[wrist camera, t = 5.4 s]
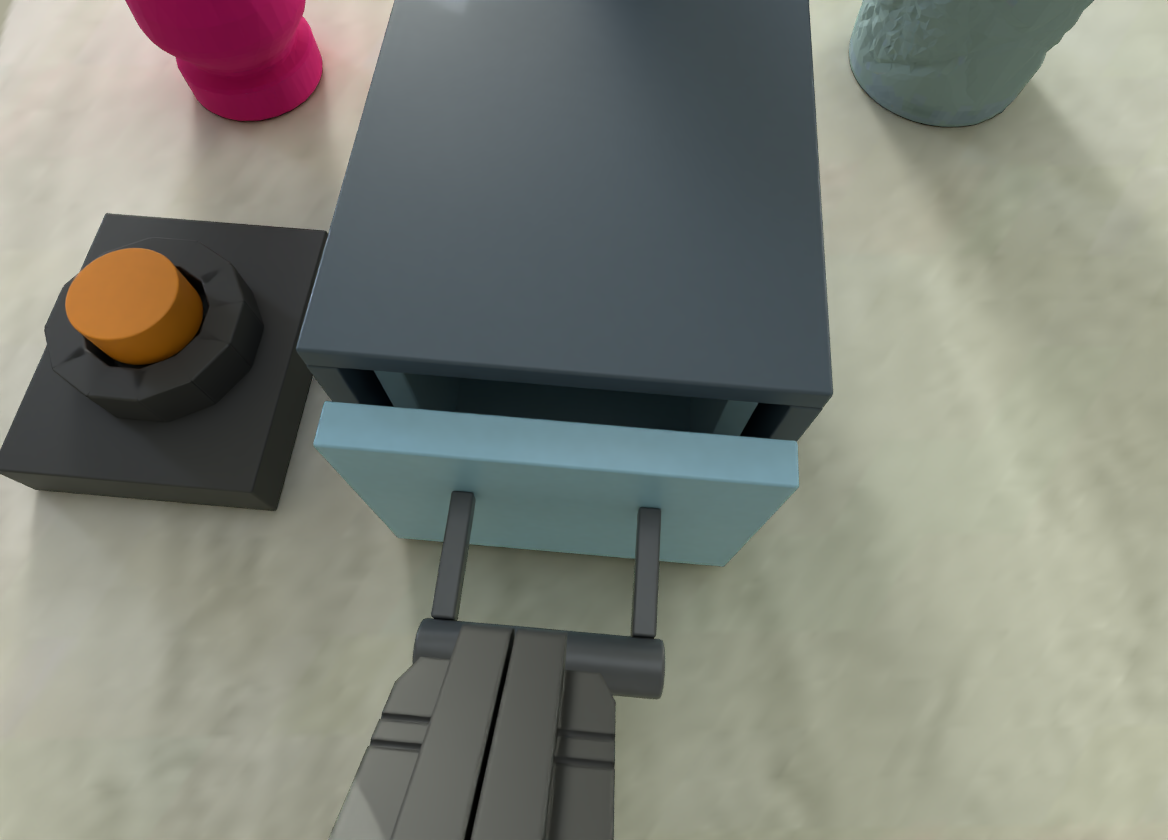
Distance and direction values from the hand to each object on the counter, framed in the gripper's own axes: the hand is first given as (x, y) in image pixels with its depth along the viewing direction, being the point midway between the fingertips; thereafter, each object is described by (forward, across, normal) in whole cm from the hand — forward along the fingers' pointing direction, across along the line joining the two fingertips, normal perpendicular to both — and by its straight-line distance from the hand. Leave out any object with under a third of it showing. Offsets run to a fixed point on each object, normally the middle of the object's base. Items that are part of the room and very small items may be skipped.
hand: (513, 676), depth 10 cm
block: (+18, +15, +2) cm, 24 cm away
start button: (+15, +15, 0) cm, 22 cm away
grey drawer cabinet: (+20, 0, 0) cm, 20 cm away
